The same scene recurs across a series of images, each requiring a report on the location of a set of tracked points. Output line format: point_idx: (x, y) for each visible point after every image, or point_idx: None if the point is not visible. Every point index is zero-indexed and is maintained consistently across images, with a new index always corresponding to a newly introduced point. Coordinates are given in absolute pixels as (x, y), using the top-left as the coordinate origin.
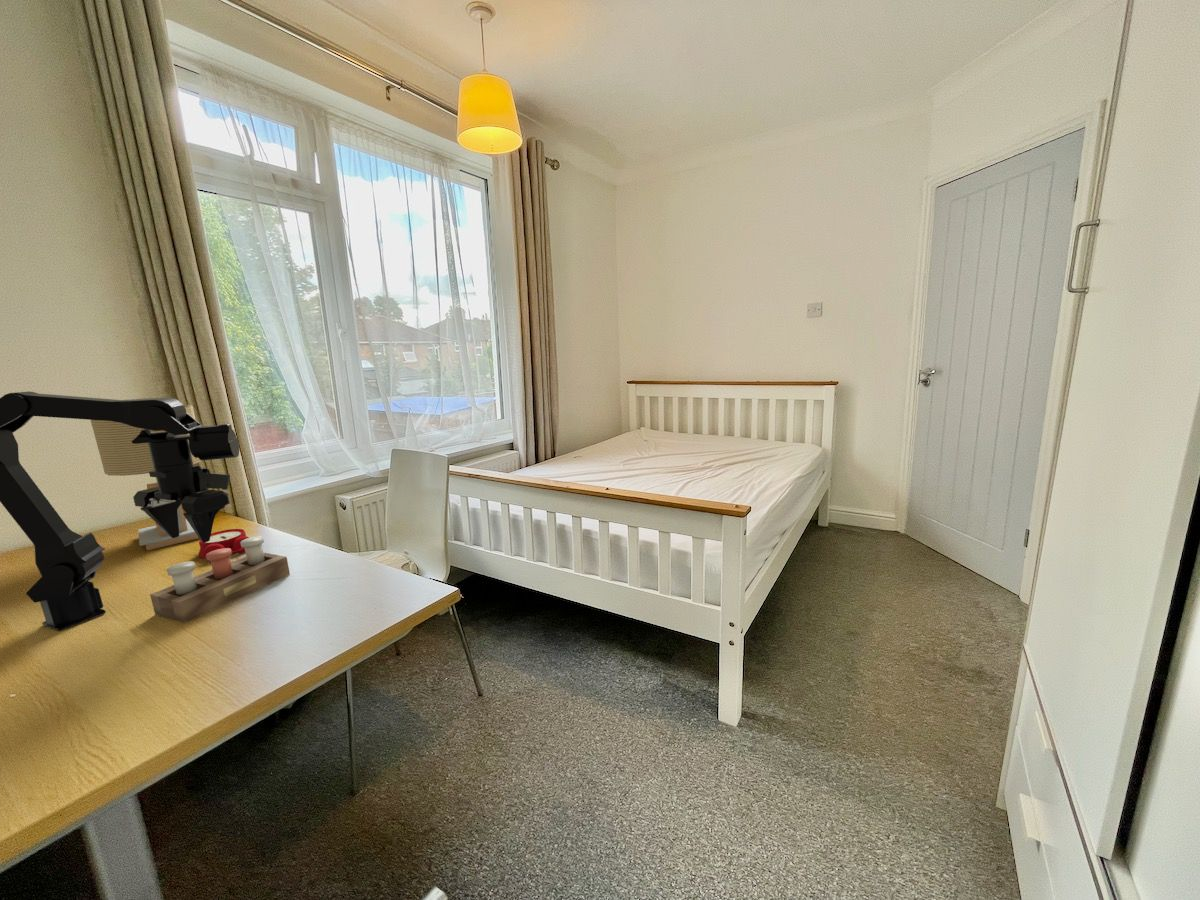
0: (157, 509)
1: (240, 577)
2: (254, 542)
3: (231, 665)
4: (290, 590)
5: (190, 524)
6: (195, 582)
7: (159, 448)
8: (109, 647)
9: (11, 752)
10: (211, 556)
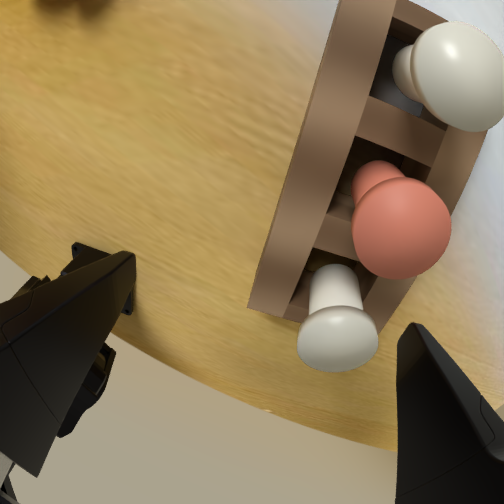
0: (25, 450)
1: (451, 212)
2: (500, 118)
3: (493, 371)
4: None
5: (400, 480)
6: (356, 284)
7: None
8: (285, 356)
9: (359, 442)
10: (402, 278)
